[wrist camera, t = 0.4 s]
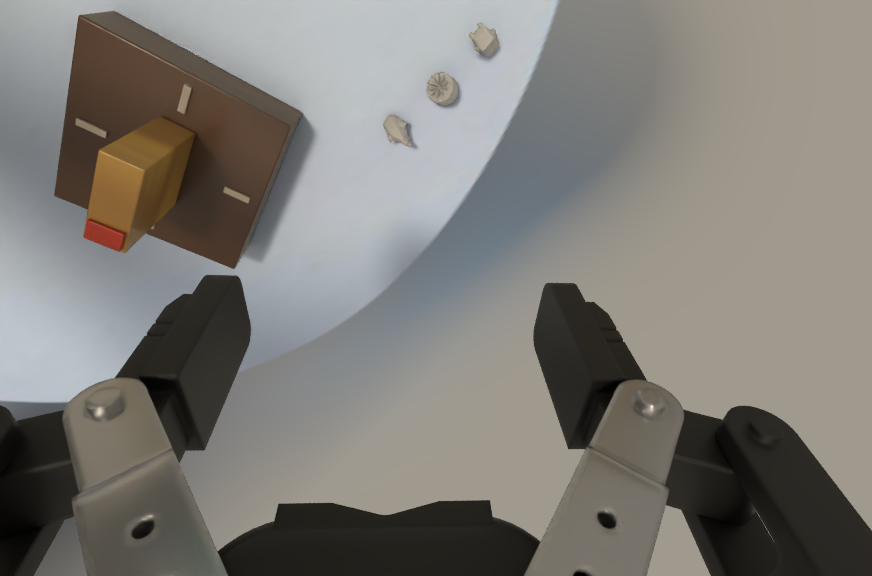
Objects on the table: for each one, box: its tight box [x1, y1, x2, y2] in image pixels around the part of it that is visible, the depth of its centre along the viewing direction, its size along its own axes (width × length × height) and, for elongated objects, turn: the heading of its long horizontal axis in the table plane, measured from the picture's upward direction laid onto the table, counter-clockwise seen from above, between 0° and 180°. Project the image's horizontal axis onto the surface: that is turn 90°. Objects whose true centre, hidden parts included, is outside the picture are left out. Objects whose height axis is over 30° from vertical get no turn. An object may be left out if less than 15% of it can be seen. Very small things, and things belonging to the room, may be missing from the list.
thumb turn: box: [83, 116, 195, 253], centre depth 22 cm, size 5×2×6 cm, turn 150°
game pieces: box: [383, 23, 499, 147], centre depth 25 cm, size 8×2×2 cm
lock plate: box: [54, 11, 302, 269], centre depth 26 cm, size 10×10×3 cm
